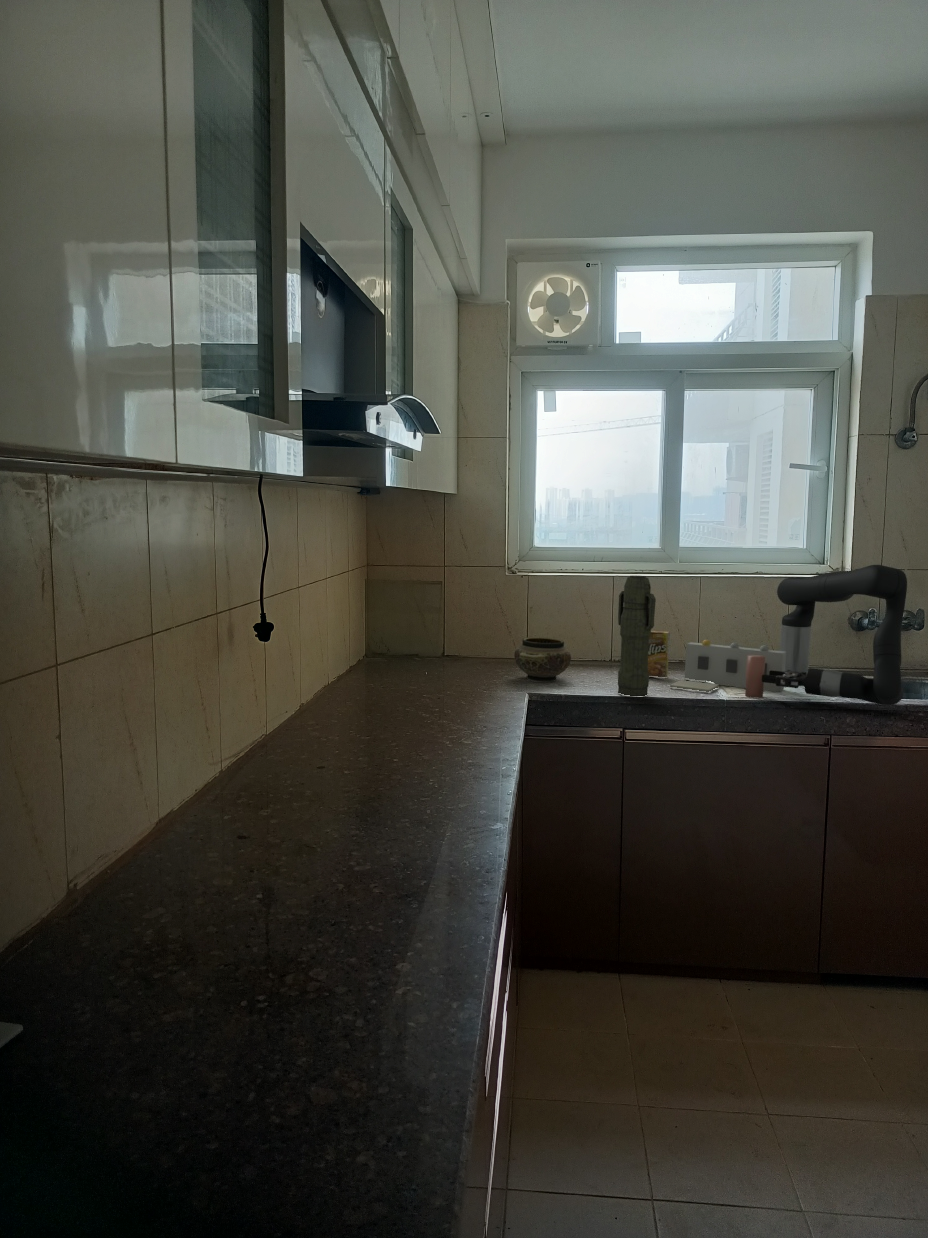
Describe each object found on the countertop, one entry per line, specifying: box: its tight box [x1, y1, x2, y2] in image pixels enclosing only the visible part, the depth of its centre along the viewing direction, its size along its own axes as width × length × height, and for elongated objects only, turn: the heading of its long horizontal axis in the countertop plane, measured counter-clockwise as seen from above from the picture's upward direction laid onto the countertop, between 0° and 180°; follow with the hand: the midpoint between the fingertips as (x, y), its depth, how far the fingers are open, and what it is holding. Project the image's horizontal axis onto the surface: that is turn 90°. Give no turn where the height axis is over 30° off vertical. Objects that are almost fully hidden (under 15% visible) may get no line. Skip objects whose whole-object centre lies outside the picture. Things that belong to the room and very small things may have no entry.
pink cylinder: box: [744, 655, 765, 698], centre depth 256 cm, size 5×5×12 cm
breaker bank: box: [684, 639, 786, 693], centre depth 272 cm, size 6×30×14 cm, turn 57°
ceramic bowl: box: [513, 636, 572, 683], centre depth 275 cm, size 24×18×15 cm
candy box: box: [648, 630, 671, 678], centre depth 283 cm, size 9×4×15 cm, turn 70°
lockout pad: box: [669, 679, 720, 692], centre depth 266 cm, size 10×12×1 cm
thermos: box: [617, 575, 657, 697], centre depth 254 cm, size 9×12×35 cm
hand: (765, 676), depth 254 cm, fingers open, 8 cm apart
